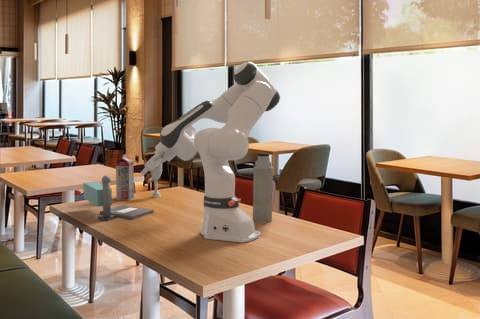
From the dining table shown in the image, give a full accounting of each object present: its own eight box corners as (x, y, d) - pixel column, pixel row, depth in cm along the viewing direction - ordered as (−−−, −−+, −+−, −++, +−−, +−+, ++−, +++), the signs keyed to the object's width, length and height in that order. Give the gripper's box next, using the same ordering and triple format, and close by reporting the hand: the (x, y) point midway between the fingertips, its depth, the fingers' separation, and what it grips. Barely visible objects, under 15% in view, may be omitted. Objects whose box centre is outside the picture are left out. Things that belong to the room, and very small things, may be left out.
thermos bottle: (271, 218, 203) (273, 152, 200) (271, 222, 195) (273, 154, 192) (253, 217, 204) (254, 152, 200) (252, 222, 196) (253, 154, 192)
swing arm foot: (115, 218, 198) (115, 215, 198) (107, 221, 194) (107, 218, 193) (106, 216, 200) (106, 214, 200) (98, 219, 196) (97, 216, 196)
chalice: (160, 198, 239) (160, 162, 237) (147, 197, 241) (147, 162, 239) (165, 195, 247) (165, 161, 244) (152, 194, 248) (152, 160, 246)
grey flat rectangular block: (153, 212, 209) (153, 209, 209) (131, 219, 197) (131, 216, 197) (122, 207, 218) (122, 204, 218) (99, 213, 206) (99, 210, 205)
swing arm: (115, 215, 197) (114, 175, 195) (101, 217, 194) (100, 176, 192) (97, 204, 217) (96, 168, 215) (83, 206, 214) (82, 169, 212)
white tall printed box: (133, 197, 241) (133, 154, 238) (129, 200, 234) (128, 155, 232) (121, 196, 242) (120, 153, 239) (116, 199, 235) (115, 155, 232)
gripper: (167, 158, 198) (143, 181, 198) (171, 155, 218) (150, 176, 218) (156, 147, 197) (132, 171, 197) (161, 145, 218) (140, 167, 218)
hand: (141, 174), depth 208 cm, fingers closed
